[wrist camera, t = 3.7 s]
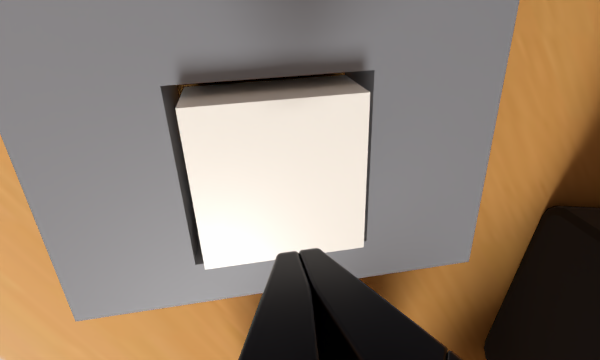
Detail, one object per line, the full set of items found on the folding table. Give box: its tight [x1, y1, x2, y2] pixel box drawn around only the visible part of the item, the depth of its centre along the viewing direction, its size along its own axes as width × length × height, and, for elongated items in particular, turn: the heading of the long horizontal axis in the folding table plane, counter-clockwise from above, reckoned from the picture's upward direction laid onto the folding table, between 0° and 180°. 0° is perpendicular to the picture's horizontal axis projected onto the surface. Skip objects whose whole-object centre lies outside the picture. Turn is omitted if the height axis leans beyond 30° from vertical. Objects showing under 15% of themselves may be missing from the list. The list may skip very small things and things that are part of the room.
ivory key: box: [175, 75, 370, 270], centre depth 12 cm, size 5×5×2 cm
